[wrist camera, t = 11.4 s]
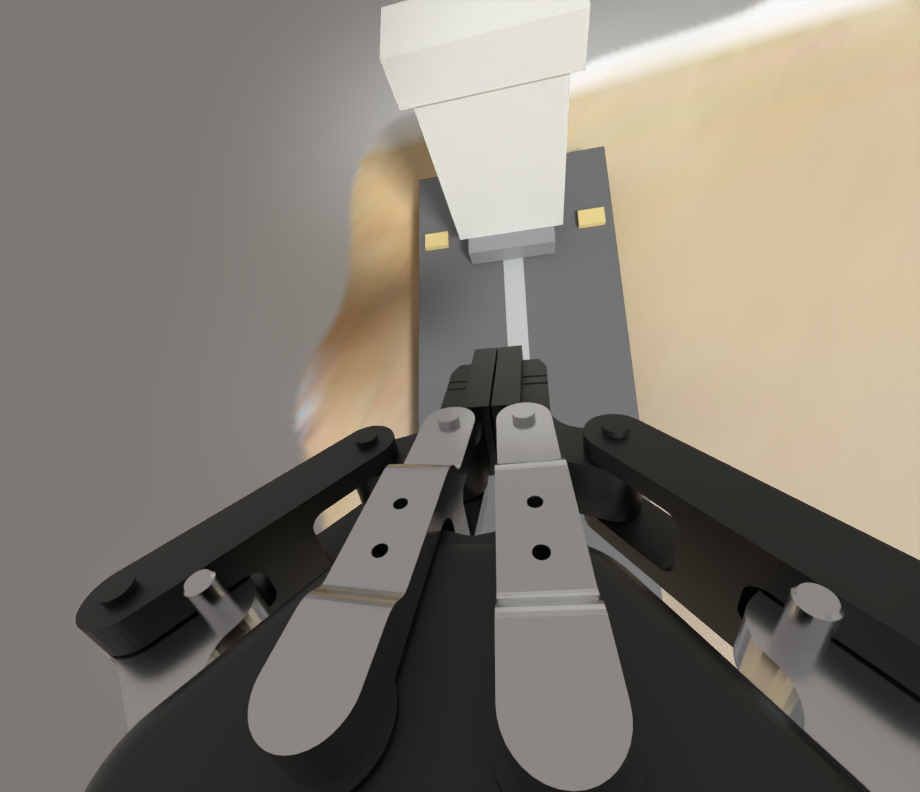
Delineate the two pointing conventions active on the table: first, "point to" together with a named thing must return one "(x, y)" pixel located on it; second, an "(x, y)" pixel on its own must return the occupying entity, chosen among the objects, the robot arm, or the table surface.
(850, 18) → the table surface
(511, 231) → the fader tab
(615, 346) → the fader console
